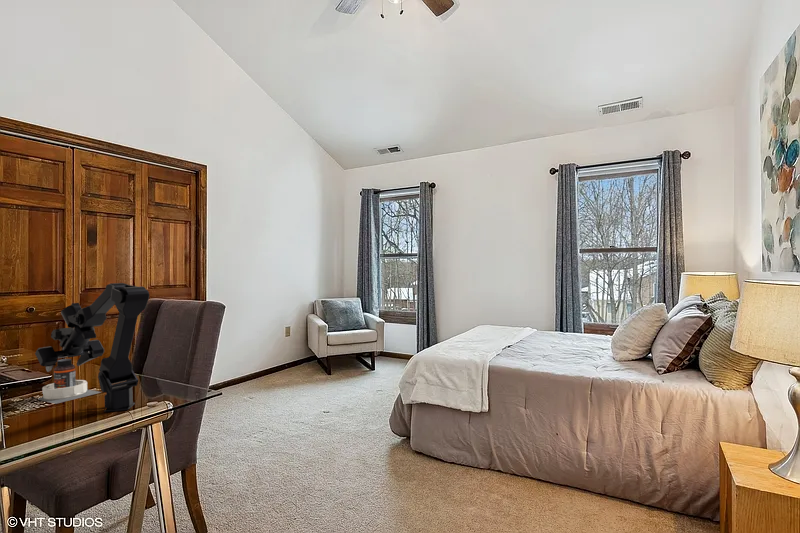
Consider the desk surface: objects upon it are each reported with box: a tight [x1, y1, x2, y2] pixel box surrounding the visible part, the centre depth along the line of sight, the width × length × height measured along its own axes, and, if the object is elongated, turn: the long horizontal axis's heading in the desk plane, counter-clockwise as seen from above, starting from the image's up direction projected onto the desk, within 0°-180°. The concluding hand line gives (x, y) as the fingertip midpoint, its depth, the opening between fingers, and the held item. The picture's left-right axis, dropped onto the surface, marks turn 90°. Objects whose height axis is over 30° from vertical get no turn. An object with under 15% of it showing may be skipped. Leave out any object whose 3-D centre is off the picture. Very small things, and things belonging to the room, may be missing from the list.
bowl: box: [42, 379, 88, 400], centre depth 151 cm, size 12×12×4 cm
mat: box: [38, 388, 102, 405], centre depth 151 cm, size 18×14×1 cm
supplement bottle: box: [53, 358, 77, 389], centre depth 151 cm, size 6×6×11 cm
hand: (62, 367), depth 152 cm, fingers open, 9 cm apart
